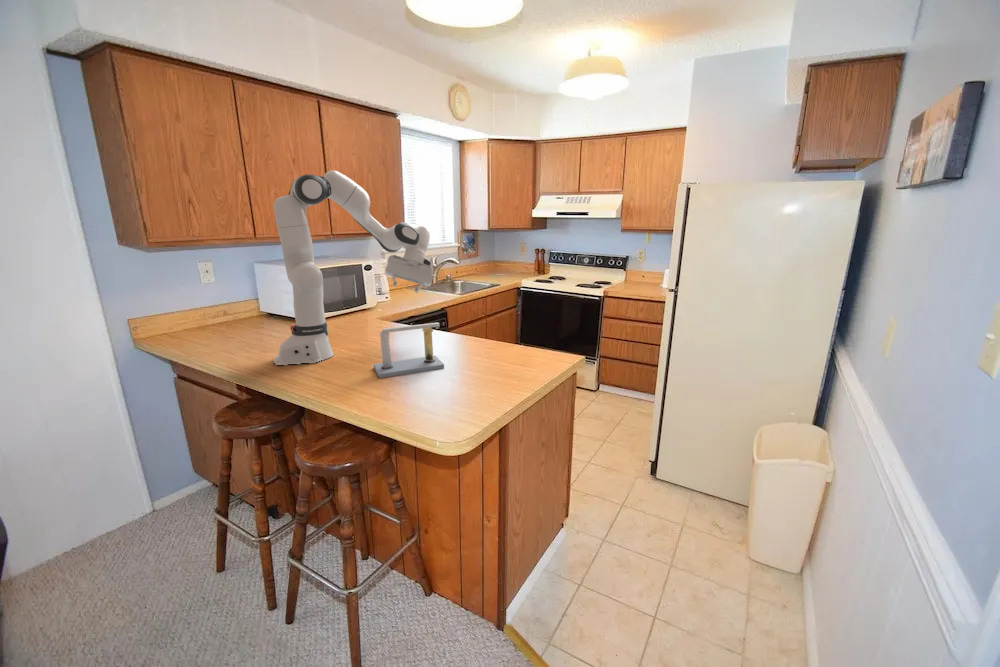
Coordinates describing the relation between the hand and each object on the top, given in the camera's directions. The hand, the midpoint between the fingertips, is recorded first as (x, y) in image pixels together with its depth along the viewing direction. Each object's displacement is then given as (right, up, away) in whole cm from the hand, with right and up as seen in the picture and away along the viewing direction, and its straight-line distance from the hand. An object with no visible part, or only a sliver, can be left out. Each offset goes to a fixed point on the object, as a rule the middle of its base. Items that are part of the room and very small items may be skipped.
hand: (405, 289), depth 184 cm
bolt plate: (+6, -32, -22) cm, 39 cm away
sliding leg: (+13, -29, -19) cm, 38 cm away
